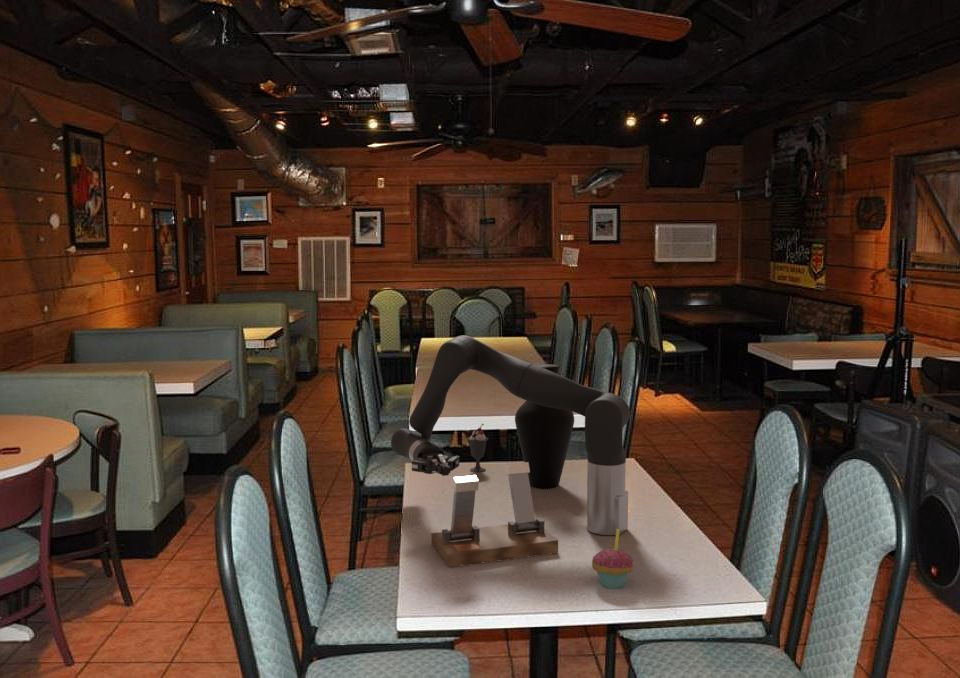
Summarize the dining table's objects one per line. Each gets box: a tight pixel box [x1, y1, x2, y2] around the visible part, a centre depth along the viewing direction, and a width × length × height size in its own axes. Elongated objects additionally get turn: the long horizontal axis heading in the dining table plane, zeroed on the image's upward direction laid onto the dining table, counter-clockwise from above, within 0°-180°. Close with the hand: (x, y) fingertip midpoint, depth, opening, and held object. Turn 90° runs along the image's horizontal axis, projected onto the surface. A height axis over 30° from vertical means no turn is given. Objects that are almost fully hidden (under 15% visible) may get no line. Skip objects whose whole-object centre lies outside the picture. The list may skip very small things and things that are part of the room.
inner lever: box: [504, 462, 539, 533], centre depth 196 cm, size 5×2×16 cm, turn 109°
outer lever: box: [448, 474, 480, 541], centre depth 186 cm, size 5×2×16 cm, turn 109°
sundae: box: [466, 423, 490, 473], centre depth 257 cm, size 7×7×15 cm
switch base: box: [430, 517, 559, 568], centre depth 191 cm, size 26×14×6 cm, turn 109°
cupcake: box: [591, 525, 634, 589], centre depth 171 cm, size 9×8×12 cm
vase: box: [514, 363, 575, 490], centre depth 240 cm, size 17×17×35 cm
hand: (445, 471), depth 199 cm, fingers closed
